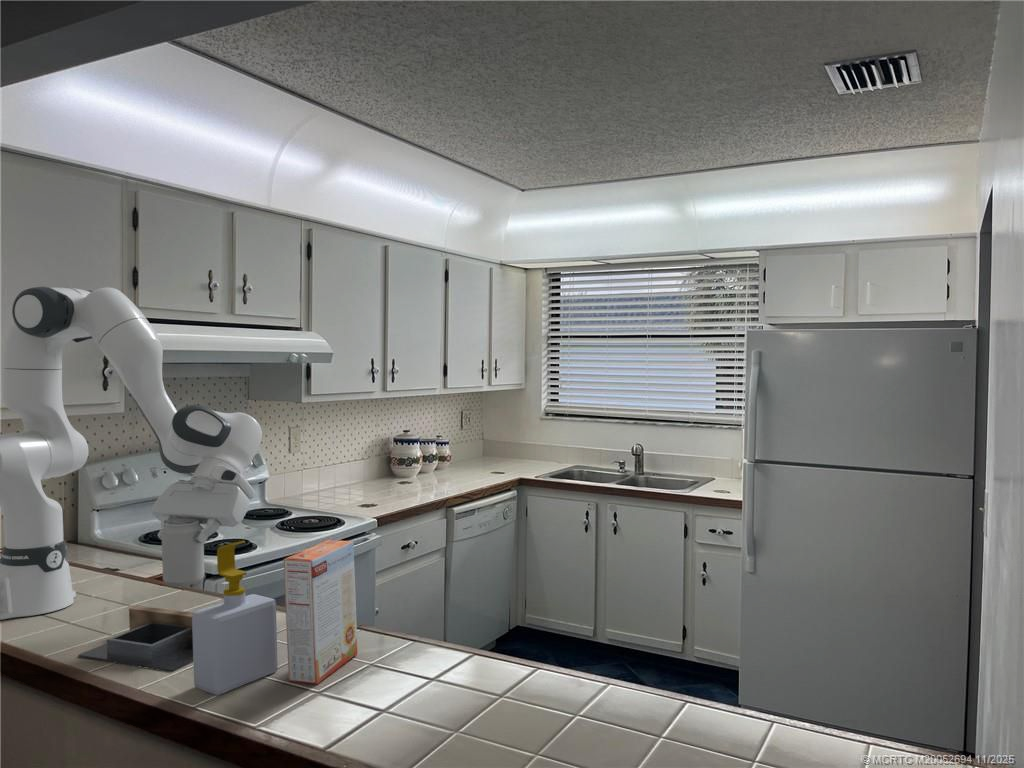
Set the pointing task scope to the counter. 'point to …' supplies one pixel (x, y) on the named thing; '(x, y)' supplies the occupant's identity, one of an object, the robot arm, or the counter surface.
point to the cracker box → (320, 610)
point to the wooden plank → (157, 616)
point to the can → (182, 552)
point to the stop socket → (149, 647)
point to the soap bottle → (233, 634)
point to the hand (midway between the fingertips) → (180, 540)
